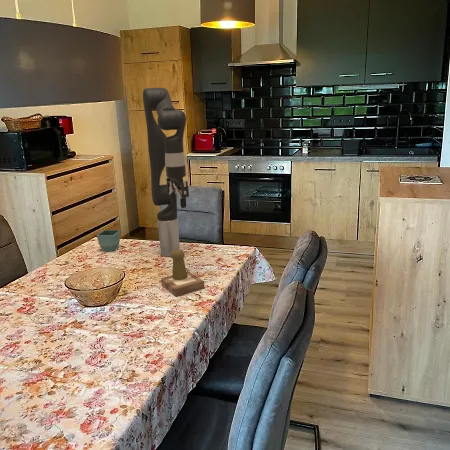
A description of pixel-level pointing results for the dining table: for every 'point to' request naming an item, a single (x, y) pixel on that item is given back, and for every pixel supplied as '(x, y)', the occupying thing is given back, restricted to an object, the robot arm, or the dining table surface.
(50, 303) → the dining table surface
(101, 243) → the flower pot
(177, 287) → the dock board
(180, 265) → the brown wooden pawn
